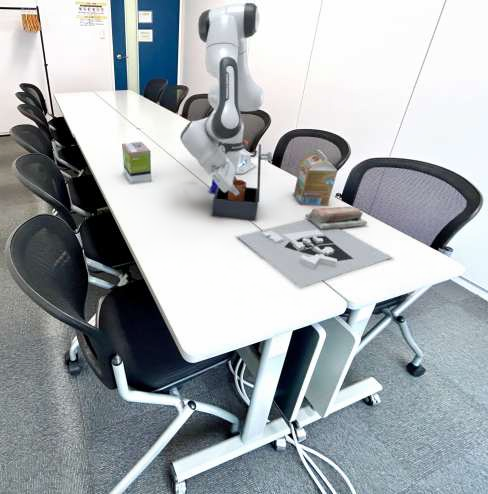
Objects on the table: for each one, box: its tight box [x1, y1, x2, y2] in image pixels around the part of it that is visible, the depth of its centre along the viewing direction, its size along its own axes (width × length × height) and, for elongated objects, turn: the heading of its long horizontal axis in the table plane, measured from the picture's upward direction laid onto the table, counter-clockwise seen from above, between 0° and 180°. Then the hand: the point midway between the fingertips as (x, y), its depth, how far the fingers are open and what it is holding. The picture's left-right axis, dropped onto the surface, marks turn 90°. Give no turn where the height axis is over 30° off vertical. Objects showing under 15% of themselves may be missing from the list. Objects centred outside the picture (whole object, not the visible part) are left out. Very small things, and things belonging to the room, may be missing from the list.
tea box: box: [121, 141, 152, 185], centre depth 155 cm, size 15×10×15 cm, turn 18°
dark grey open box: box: [211, 186, 259, 222], centre depth 127 cm, size 16×15×7 cm
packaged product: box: [304, 206, 368, 229], centre depth 118 cm, size 18×5×10 cm
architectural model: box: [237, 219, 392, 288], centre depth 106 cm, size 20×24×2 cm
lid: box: [256, 143, 273, 203], centre depth 119 cm, size 16×15×5 cm
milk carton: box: [293, 149, 338, 206], centre depth 132 cm, size 11×11×19 cm
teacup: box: [227, 179, 247, 201], centre depth 125 cm, size 6×6×7 cm
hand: (238, 190), depth 124 cm, fingers closed on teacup, 6 cm apart
